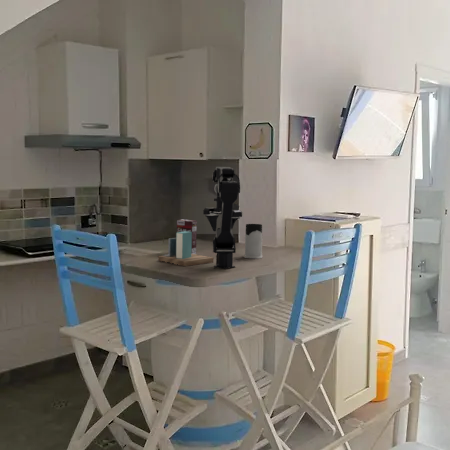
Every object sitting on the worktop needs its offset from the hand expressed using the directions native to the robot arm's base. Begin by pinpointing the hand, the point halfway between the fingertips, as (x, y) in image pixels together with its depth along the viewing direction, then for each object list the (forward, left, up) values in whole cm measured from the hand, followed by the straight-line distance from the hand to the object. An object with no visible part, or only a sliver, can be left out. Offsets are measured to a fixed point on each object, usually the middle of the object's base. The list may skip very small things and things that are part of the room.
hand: (222, 232), depth 258 cm
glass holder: (+4, -23, -13) cm, 27 cm away
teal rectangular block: (+10, +13, -11) cm, 20 cm away
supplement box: (+28, -4, -13) cm, 31 cm away
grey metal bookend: (+17, +11, -11) cm, 23 cm away
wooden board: (+11, +11, -13) cm, 20 cm away
